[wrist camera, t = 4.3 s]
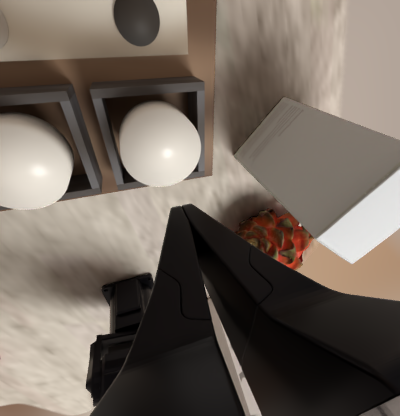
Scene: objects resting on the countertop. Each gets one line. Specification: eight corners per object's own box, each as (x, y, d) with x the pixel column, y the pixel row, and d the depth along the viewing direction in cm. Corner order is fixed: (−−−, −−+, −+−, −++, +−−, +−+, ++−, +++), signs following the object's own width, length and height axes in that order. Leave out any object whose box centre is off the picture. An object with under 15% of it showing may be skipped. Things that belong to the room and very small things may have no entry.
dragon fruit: (210, 216, 30) (278, 201, 35) (221, 278, 30) (286, 254, 35) (250, 218, 22) (329, 198, 27) (263, 301, 22) (339, 267, 27)
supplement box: (230, 155, 23) (313, 240, 14) (284, 93, 21) (427, 143, 11) (268, 186, 27) (351, 267, 18) (316, 138, 25) (440, 201, 16)
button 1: (192, 165, 18) (201, 180, 16) (127, 175, 17) (129, 192, 15) (189, 97, 15) (200, 105, 13) (110, 103, 14) (110, 114, 12)
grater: (167, 327, 41) (199, 497, 26) (212, 296, 39) (274, 460, 24) (198, 336, 48) (239, 476, 33) (238, 311, 46) (300, 446, 31)
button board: (205, 166, 23) (221, 189, 20) (-116, 217, 17) (-173, 262, 14) (206, -31, 14) (235, -50, 11) (-444, -64, 8) (-818, -130, 5)
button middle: (85, 182, 16) (81, 201, 14) (4, 194, 15) (-11, 217, 13) (56, 108, 13) (47, 120, 11) (-49, 116, 12) (-77, 131, 10)
